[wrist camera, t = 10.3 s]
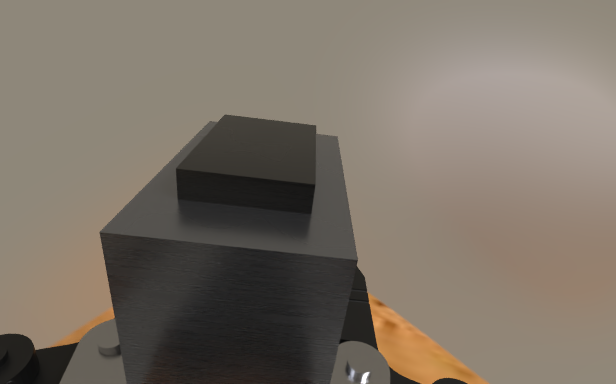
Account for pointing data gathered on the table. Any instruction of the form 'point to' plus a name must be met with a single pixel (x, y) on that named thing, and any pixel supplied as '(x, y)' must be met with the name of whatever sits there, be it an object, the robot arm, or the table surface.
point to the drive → (235, 259)
